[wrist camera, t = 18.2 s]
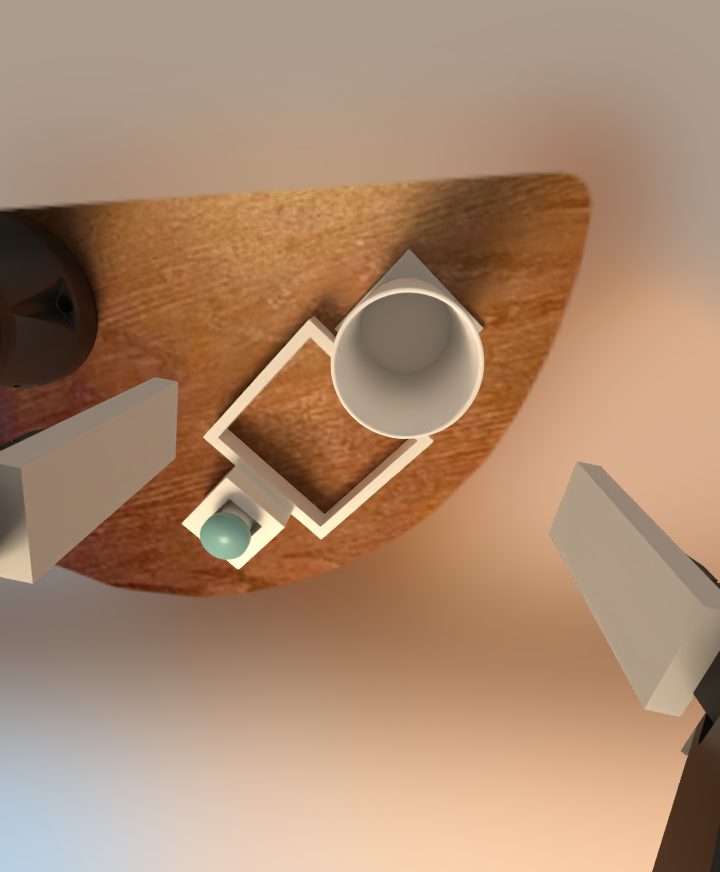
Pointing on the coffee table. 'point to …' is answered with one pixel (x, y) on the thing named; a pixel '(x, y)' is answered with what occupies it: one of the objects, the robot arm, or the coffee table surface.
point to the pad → (412, 269)
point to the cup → (407, 360)
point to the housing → (265, 487)
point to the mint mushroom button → (227, 532)
